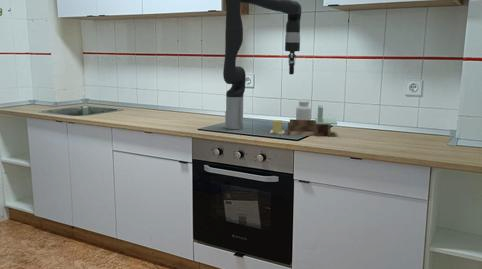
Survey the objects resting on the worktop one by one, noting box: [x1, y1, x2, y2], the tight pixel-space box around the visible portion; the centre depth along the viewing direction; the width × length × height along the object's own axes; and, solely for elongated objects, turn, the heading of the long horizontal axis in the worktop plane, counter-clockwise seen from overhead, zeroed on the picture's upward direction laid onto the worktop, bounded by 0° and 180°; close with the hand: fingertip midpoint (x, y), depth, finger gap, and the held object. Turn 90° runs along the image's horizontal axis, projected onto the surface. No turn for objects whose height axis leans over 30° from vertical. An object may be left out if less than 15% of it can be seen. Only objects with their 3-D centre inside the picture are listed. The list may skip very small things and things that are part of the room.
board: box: [268, 118, 332, 138], centre depth 227 cm, size 30×13×7 cm, turn 82°
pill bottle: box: [295, 100, 312, 120], centre depth 246 cm, size 8×8×15 cm
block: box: [272, 119, 283, 132], centre depth 228 cm, size 4×4×6 cm
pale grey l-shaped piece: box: [314, 104, 338, 126], centre depth 224 cm, size 10×13×8 cm
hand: (291, 73), depth 233 cm, fingers open, 8 cm apart
